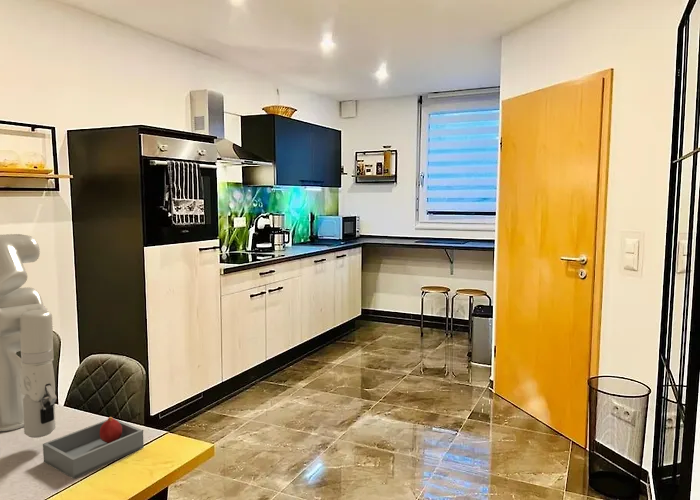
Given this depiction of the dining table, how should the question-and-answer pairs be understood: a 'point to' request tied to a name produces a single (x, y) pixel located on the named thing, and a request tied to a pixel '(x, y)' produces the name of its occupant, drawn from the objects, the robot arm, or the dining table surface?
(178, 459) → the dining table surface
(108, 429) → the onion
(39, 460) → the dining table surface
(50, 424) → the can
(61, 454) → the tote
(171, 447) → the dining table surface
